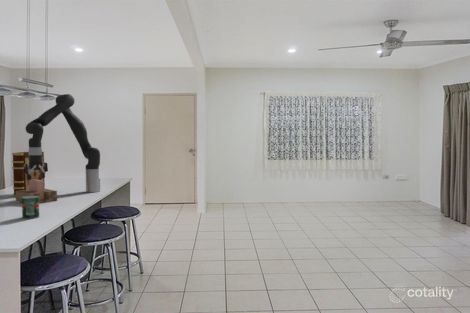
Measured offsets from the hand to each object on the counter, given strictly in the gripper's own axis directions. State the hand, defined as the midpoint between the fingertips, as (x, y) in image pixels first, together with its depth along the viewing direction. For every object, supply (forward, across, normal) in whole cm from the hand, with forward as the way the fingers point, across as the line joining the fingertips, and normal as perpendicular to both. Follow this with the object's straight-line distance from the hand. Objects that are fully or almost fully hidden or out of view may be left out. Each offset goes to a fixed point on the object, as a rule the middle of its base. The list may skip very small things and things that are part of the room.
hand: (36, 179), depth 230 cm
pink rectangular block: (+13, 0, 0) cm, 13 cm away
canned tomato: (+14, +24, +41) cm, 50 cm away
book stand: (+14, 0, 0) cm, 14 cm away
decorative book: (+14, -9, -28) cm, 33 cm away
